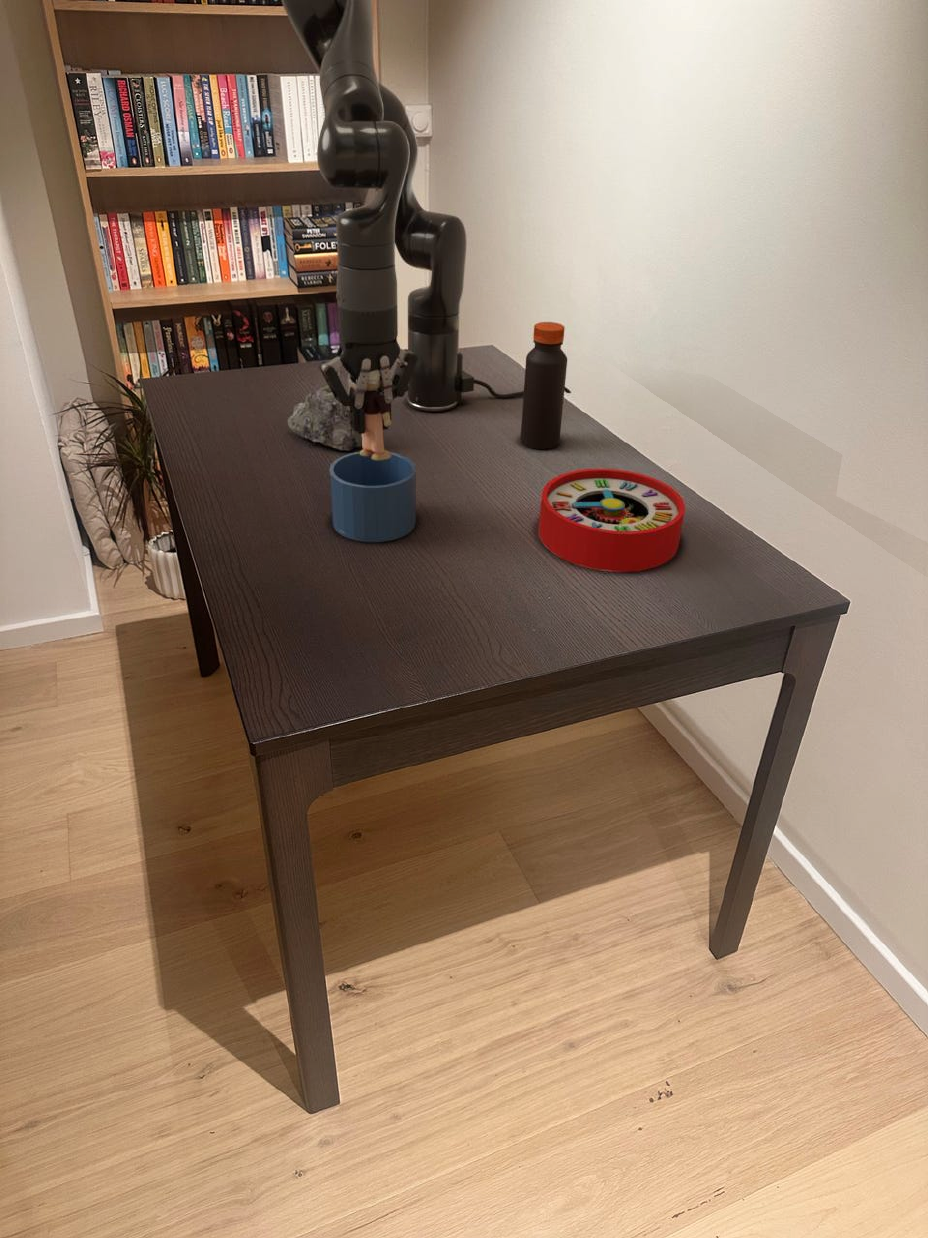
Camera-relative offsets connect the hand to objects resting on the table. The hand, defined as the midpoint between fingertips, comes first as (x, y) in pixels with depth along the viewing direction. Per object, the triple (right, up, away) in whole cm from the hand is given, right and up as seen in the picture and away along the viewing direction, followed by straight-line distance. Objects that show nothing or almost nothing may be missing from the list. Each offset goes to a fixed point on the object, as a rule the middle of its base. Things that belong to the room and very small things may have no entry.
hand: (371, 429), depth 124 cm
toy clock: (+33, -14, +7) cm, 37 cm away
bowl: (0, -12, +8) cm, 14 cm away
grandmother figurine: (0, -3, +2) cm, 4 cm away
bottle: (+26, +5, +34) cm, 43 cm away
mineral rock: (-10, +5, +32) cm, 34 cm away
